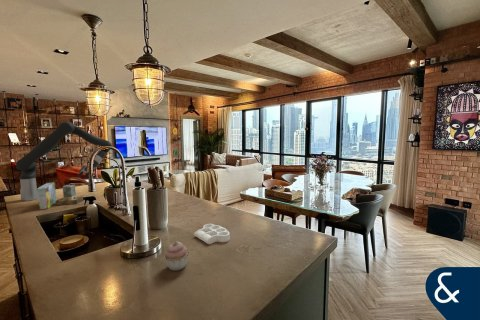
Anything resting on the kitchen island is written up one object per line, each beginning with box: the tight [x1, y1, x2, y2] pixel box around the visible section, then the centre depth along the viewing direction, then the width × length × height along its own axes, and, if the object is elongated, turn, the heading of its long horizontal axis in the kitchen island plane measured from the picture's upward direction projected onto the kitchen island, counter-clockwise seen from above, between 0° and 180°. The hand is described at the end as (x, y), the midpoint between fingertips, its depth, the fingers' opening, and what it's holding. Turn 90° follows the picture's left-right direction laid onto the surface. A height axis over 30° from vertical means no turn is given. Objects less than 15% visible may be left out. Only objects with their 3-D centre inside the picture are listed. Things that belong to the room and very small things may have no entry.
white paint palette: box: [193, 223, 231, 245], centre depth 114 cm, size 3×18×15 cm
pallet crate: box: [62, 184, 77, 200], centre depth 177 cm, size 6×6×10 cm
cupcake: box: [163, 241, 190, 272], centre depth 88 cm, size 9×9×10 cm
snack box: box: [36, 182, 58, 211], centre depth 171 cm, size 21×6×15 cm, turn 25°
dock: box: [55, 196, 84, 206], centre depth 178 cm, size 14×10×3 cm
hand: (81, 177), depth 184 cm, fingers open, 8 cm apart
